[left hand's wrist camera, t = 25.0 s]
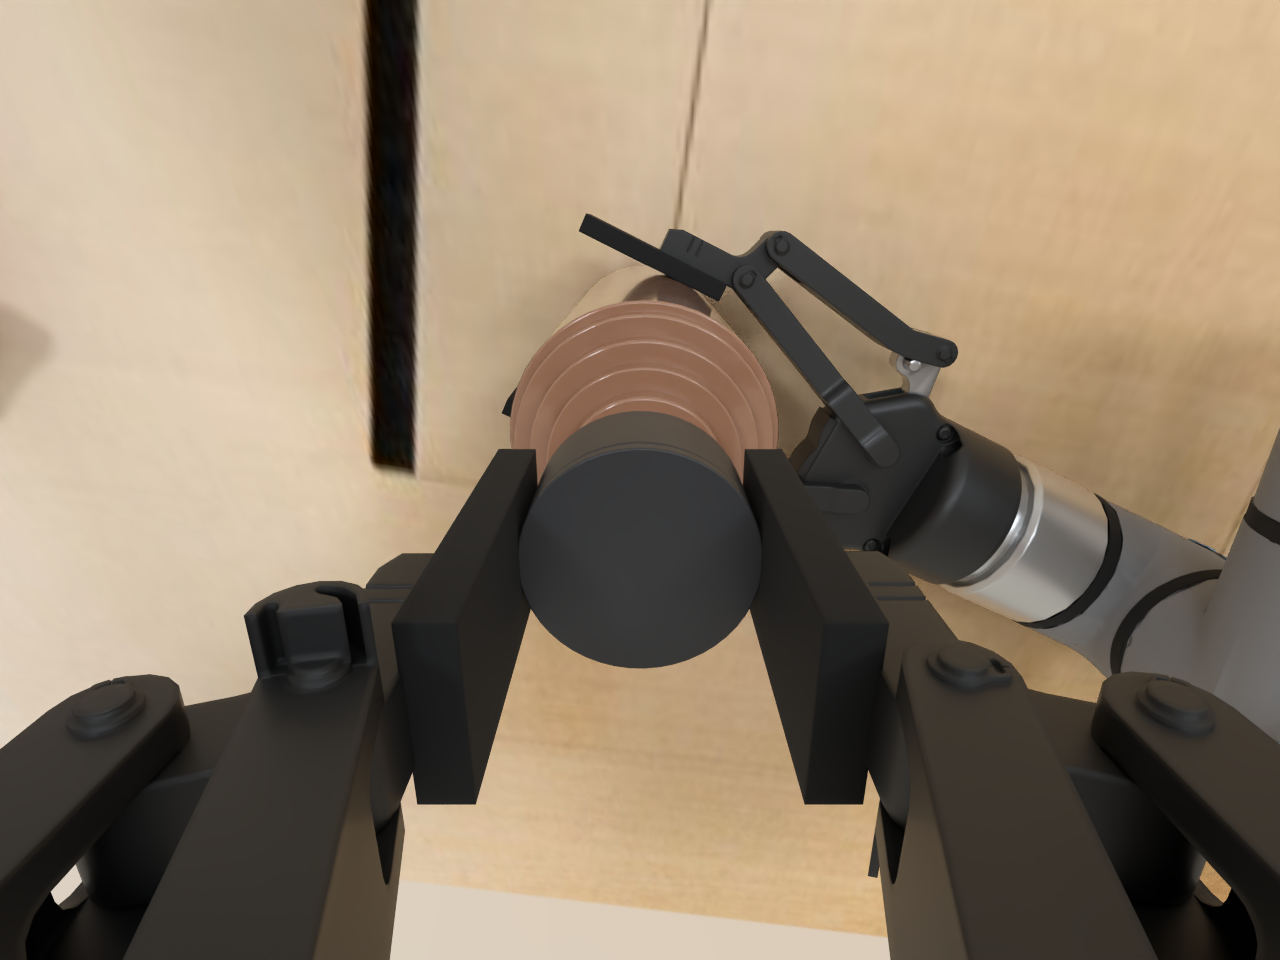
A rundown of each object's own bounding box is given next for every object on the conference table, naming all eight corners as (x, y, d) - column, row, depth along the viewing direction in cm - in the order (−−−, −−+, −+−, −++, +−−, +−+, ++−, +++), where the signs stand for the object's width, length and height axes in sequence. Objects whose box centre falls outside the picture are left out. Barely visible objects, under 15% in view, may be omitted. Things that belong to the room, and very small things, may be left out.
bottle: (573, 411, 39) (469, 688, 15) (568, 265, 36) (433, 335, 13) (712, 411, 39) (819, 689, 15) (718, 265, 36) (857, 335, 13)
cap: (713, 618, 15) (726, 688, 13) (520, 579, 15) (499, 644, 13) (769, 435, 14) (795, 478, 12) (557, 388, 14) (540, 422, 11)
